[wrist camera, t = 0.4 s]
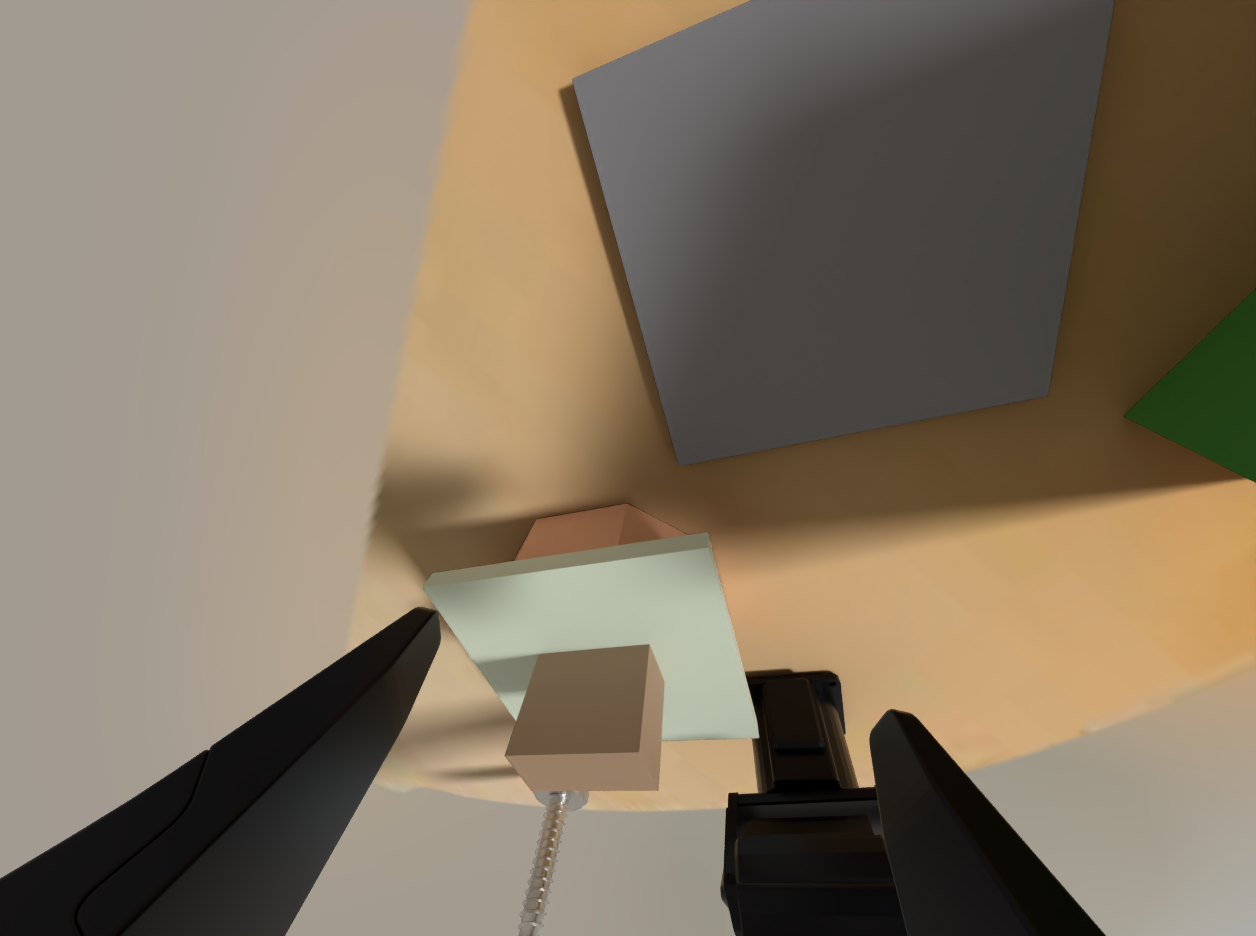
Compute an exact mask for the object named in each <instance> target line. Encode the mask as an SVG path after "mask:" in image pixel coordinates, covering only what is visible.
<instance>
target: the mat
mask: <svg viewBox="0 0 1256 936" xmlns="http://www.w3.org/2000/svg"><path fill="white" fill-rule="evenodd" d="M1114 1H1115V0H750V1H748V2H746V3H743V4H741V5H739V6H737V7H734V8H732V9H730V10H728V11H725V12H723V13H721V14H718V15H716V16H714V17H712V18H709V19H707V20H705V21H703V22H700V23H698V24H696V25H693V26H691V27H689V28H687V29H684V30H682V31H680V32H678V33H675V34H673V35H671V36H668V37H666V38H664V39H662V40H659V41H657V42H655V43H653V44H650V45H648V46H646V47H643V48H641V49H639V50H637V51H634V52H632V53H630V54H628V55H625V56H623V57H621V58H618V59H616V60H614V61H612V62H609V63H607V64H605V65H603V66H600V67H598V68H596V69H593V70H591V71H589V72H587V73H584V74H582V75H580V76H578V77H575V78H573V79H572V82H573V85H574V89H575V93H576V96H577V100H578V103H579V107H580V111H581V114H582V118H583V122H584V125H585V129H586V132H587V136H588V140H589V143H590V147H591V150H592V154H593V158H594V161H595V165H596V169H597V172H598V176H599V179H600V183H601V187H602V190H603V194H604V198H605V201H606V205H607V208H608V212H609V216H610V219H611V223H612V226H613V230H614V234H615V237H616V241H617V245H618V248H619V252H620V255H621V259H622V263H623V266H624V270H625V273H626V277H627V281H628V284H629V288H630V292H631V295H632V299H633V302H634V306H635V310H636V313H637V317H638V321H639V324H640V328H641V331H642V335H643V339H644V342H645V346H646V349H647V353H648V357H649V360H650V364H651V368H652V371H653V375H654V378H655V382H656V386H657V389H658V393H659V396H660V400H661V404H662V407H663V411H664V415H665V418H666V422H667V425H668V429H669V433H670V436H671V440H672V444H673V447H674V451H675V454H676V458H677V462H678V465H679V466H683V465H688V464H694V463H699V462H704V461H710V460H715V459H720V458H725V457H731V456H736V455H741V454H746V453H752V452H757V451H762V450H767V449H773V448H778V447H783V446H788V445H794V444H799V443H804V442H809V441H815V440H820V439H825V438H831V437H836V436H841V435H846V434H852V433H857V432H862V431H867V430H873V429H878V428H883V427H888V426H894V425H899V424H904V423H909V422H915V421H920V420H925V419H931V418H936V417H941V416H946V415H952V414H957V413H962V412H967V411H973V410H978V409H983V408H988V407H994V406H999V405H1004V404H1009V403H1015V402H1020V401H1025V400H1030V399H1036V398H1041V397H1046V396H1048V392H1049V387H1050V381H1051V375H1052V369H1053V363H1054V357H1055V351H1056V345H1057V339H1058V333H1059V327H1060V321H1061V315H1062V309H1063V304H1064V298H1065V292H1066V286H1067V280H1068V274H1069V268H1070V262H1071V256H1072V250H1073V244H1074V238H1075V232H1076V227H1077V221H1078V215H1079V209H1080V203H1081V197H1082V191H1083V185H1084V179H1085V173H1086V167H1087V161H1088V155H1089V150H1090V144H1091V138H1092V132H1093V126H1094V120H1095V114H1096V108H1097V102H1098V96H1099V90H1100V84H1101V78H1102V72H1103V67H1104V61H1105V55H1106V49H1107V43H1108V37H1109V31H1110V25H1111V19H1112V13H1113V7H1114Z"/></svg>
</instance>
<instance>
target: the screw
mask: <svg viewBox="0 0 1256 936" xmlns="http://www.w3.org/2000/svg"><path fill="white" fill-rule="evenodd" d="M533 793H534V795H535V797H536V799H537V800H538V801H539V802H541V803H542V804H544V805H545V806H546V810H547V812H546V813H545V814H544V818H545V821H543V822H542V827H543V829H542V830H541V831H540V833H539V834H540V836H541V838H540V839H539V840H538V841H537V844H538V846H539V847H538V848H537V849H536V850H535V854H536V858H534V859H533V864H534V868H532V869H531V870H530V873H531V874H532V876H531V878H530V879H529V880H528V884H529V888H528V889H527V890H526V891H525V893H526V895H527V897H526V900H524V901H523V906H524V909H523V911H522V912H521V913H520V917H521V918H522V919H521V923H520V924H519V925H518V928H519V930H520V933H519V936H539V932H540V929H541V927H543V926H544V925H543V924H542V922H543V918H544V916H545V915H547V913H546V912H545V908H546V905H547V904H548V903H549V902H548V901H547V899H548V894H549V893H551V891H550V890H549V889H550V885H551V883H552V882H553V880H552V875H553V873H554V872H555V870H554V865H555V863H556V862H558V861H557V860H556V855H557V853H559V852H560V851H559V850H558V846H559V844H560V843H561V841H560V836H561V835H562V834H563V832H562V827H563V826H564V825H565V823H564V818H565V817H567V815H566V814H565V812H566V811H574V810H578V809H580V808H581V807H582V806H584V805H586V803H587V802H588V798H589V793H588V791H533Z"/></svg>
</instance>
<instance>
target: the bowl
mask: <svg viewBox="0 0 1256 936" xmlns="http://www.w3.org/2000/svg"><path fill="white" fill-rule="evenodd" d="M684 535H687V534H685V533H683V532H681V531H679V530H677V529H675V528H674V527H672V526H670V525H668V524H666V523H664V522H662V521H660V520H658V519H656V518H654V517H652V516H650V515H648V514H646V513H644V512H642V511H640V510H639V509H637V508H635V507H633V506H631V505H629V504H622V505H616V506H611V507H605V508H599V509H593V510H588V511H582V512H576V513H570V514H565V515H559V516H553V517H547V518H542V519H536V521H535V523H534V525H533V526H532V528H531V530H530V532H529V534H528V536H527V537H526V539H525V541H524V543H523V545H522V546H521V548H520V550H519V552H518V554H517V556H516V557H515V559H514V561H518V560H524V559H531V558H538V557H544V556H551V555H558V554H564V553H571V552H578V551H584V550H591V549H598V548H604V547H611V546H618V545H624V544H631V543H638V542H644V541H651V540H658V539H664V538H671V537H678V536H684ZM712 550H713V548H712ZM713 554H714V552H713ZM714 558H715V556H714ZM715 561H716V559H715ZM716 565H717V563H716ZM717 569H718V567H717ZM718 573H719V571H718ZM719 577H720V575H719ZM720 581H721V579H720ZM721 584H722V582H721ZM722 588H723V586H722ZM723 592H724V590H723ZM724 596H725V594H724ZM725 600H726V598H725ZM726 604H727V602H726ZM727 607H728V605H727ZM728 611H729V609H728ZM729 615H730V613H729Z"/></svg>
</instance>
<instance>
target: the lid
mask: <svg viewBox="0 0 1256 936" xmlns="http://www.w3.org/2000/svg"><path fill="white" fill-rule="evenodd" d="M423 590H424V591H425V592H426V594H427V595H428V597H429V598H430V600H431V601H432V602H433V604H434V605H435V607H436V608H437V610H438V611H439V612H440V614H441V615H442V617H443V618H444V620H445V621H446V622H447V624H448V625H449V627H450V628H451V629H452V631H453V632H454V634H455V635H456V637H457V638H458V639H459V641H460V642H461V644H462V645H463V647H464V648H465V649H466V651H467V652H468V654H469V655H470V657H471V658H472V659H473V661H474V662H475V664H476V665H477V666H478V668H479V669H480V671H481V672H482V674H483V675H484V676H485V678H486V679H487V681H488V682H489V684H490V685H491V686H492V688H493V689H494V691H495V692H496V694H497V695H498V696H499V698H500V699H501V701H502V702H503V703H504V705H505V706H506V708H507V709H508V711H509V712H510V713H511V715H512V716H513V718H514V719H515V721H516V723H515V726H514V729H513V732H512V735H511V738H510V741H509V744H508V747H507V750H506V753H505V757H506V758H507V760H508V761H509V762H510V764H511V765H512V766H513V768H514V769H515V770H516V771H517V773H518V774H519V775H520V777H521V778H522V779H523V780H524V782H525V783H526V784H527V786H528V787H529V788H530V790H531V791H659V773H660V756H661V741H685V740H716V739H747V738H759V732H758V724H757V718H756V714H755V711H754V707H753V703H752V699H751V695H750V691H749V688H748V684H747V680H746V676H745V672H744V668H743V665H742V661H741V657H740V653H739V649H738V646H737V642H736V638H735V634H734V630H733V626H732V623H731V619H730V615H729V611H728V607H727V604H726V600H725V596H724V592H723V588H722V584H721V581H720V577H719V573H718V569H717V565H716V561H715V558H714V554H713V550H712V546H711V542H710V539H709V535H708V532H704V533H698V534H691V535H684V536H678V537H671V538H664V539H658V540H651V541H644V542H638V543H631V544H624V545H618V546H611V547H604V548H598V549H591V550H584V551H578V552H571V553H564V554H558V555H551V556H544V557H538V558H531V559H524V560H518V561H511V562H504V563H497V564H491V565H484V566H477V567H471V568H464V569H457V570H451V571H444V572H437V573H432V575H431V576H430V578H429V579H428V580H427V582H426V583H425V585H424V586H423Z"/></svg>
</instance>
